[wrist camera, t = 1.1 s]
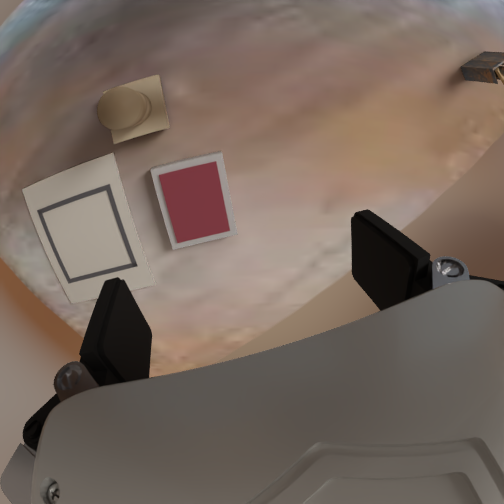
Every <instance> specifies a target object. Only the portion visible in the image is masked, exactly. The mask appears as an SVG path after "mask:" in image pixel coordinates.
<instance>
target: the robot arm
mask: <svg viewBox="0 0 504 504" xmlns="http://www.w3.org/2000/svg"><path fill="white" fill-rule="evenodd" d="M351 238H352V275H353V277H354V279H355V280H356V281H357V283H358V284H359V285H360V286H361V287H362V289H363V290H364V291H365V292H366V293H367V295H368V296H369V297H370V298H371V299H372V301H373V302H374V303H375V304H376V306H377V307H378V308H379V309H380V310H381V311H379V312H377V313H374V314H372V315H369V316H366V317H364V318H361V319H359V320H356V321H353V322H351V323H348V324H345V325H342V326H340V327H337V328H334V329H331V330H328V331H326V332H323V333H320V334H317V335H314V336H311V337H308V338H305V339H302V340H299V341H296V342H292V343H289V344H286V345H283V346H279V347H276V348H273V349H269V350H266V351H262V352H259V353H256V354H252V355H248V356H245V357H241V358H237V359H233V360H229V361H225V362H221V363H217V364H213V365H208V366H204V367H200V368H195V369H191V370H186V371H182V372H177V373H172V374H167V375H162V376H157V377H151V378H149V370H150V355H151V343H152V332H151V329H150V327H149V325H148V323H147V322H146V320H145V318H144V316H143V314H142V313H141V311H140V309H139V307H138V305H137V303H136V301H135V299H134V297H133V295H132V294H131V292H130V290H129V288H128V286H127V284H126V282H125V280H123V279H122V280H121V279H120V278H119V277H116V278H112V279H109V280H106V281H105V282H104V284H103V286H102V289H101V292H100V294H99V297H98V299H97V302H96V305H95V308H94V310H93V313H92V316H91V319H90V322H89V325H88V328H87V331H86V334H85V337H84V340H83V343H82V346H81V349H80V353H79V354H80V356H81V359H80V362H78V361H75V362H70V363H67V364H66V365H64V366H63V367H62V368H61V369H60V370H59V371H58V372H57V374H56V376H55V379H54V388H55V391H56V394H55V395H54V396H53V397H52V398H51V399H50V400H49V401H48V402H47V403H46V404H45V405H44V406H43V407H41V408H40V409H39V410H38V411H37V412H36V413H35V414H34V415H33V416H32V417H31V418H30V419H29V420H28V421H27V422H26V424H25V426H24V429H23V439H24V442H25V444H24V445H23V444H21V443H20V444H19V446H18V448H17V449H16V451H15V453H14V454H13V456H12V458H11V459H10V461H9V463H8V465H7V466H6V468H5V470H4V472H3V474H2V476H1V482H0V484H1V489H2V491H3V493H4V494H5V495H6V497H7V498H8V499H9V501H10V502H11V503H12V504H504V281H499V280H494V279H488V278H483V277H477V276H471V275H469V273H468V269H467V267H466V265H465V264H464V263H463V262H462V261H460V260H458V259H456V258H452V257H439V258H437V259H435V260H434V262H431V261H430V254H429V253H428V252H426V251H425V250H424V249H422V248H421V247H420V246H419V245H417V244H416V243H415V242H413V241H412V240H411V239H409V238H408V237H407V236H405V235H404V234H403V233H401V232H400V231H399V230H397V229H396V228H394V227H393V226H392V225H390V224H389V223H387V222H386V221H385V220H383V219H382V218H380V217H379V216H377V215H376V214H374V213H373V212H371V211H370V210H368V209H367V210H363V211H359V212H355V214H354V217H352V218H351Z"/></svg>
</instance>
